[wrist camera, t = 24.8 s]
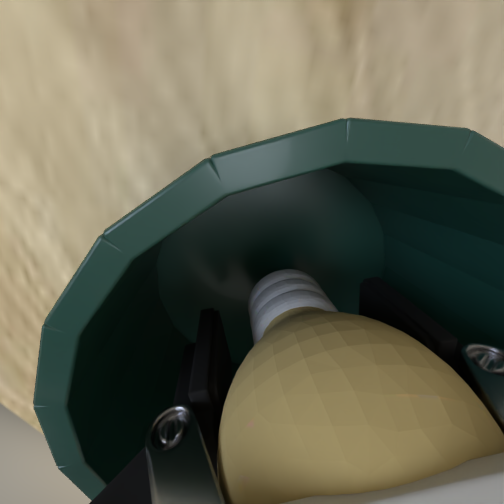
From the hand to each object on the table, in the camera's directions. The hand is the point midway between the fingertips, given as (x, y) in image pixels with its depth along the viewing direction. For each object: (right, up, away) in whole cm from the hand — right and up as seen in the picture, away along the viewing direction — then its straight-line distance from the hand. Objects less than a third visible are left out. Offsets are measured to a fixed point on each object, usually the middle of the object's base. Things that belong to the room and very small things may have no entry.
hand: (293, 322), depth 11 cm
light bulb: (0, +1, +2) cm, 2 cm away
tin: (0, +2, +4) cm, 4 cm away
